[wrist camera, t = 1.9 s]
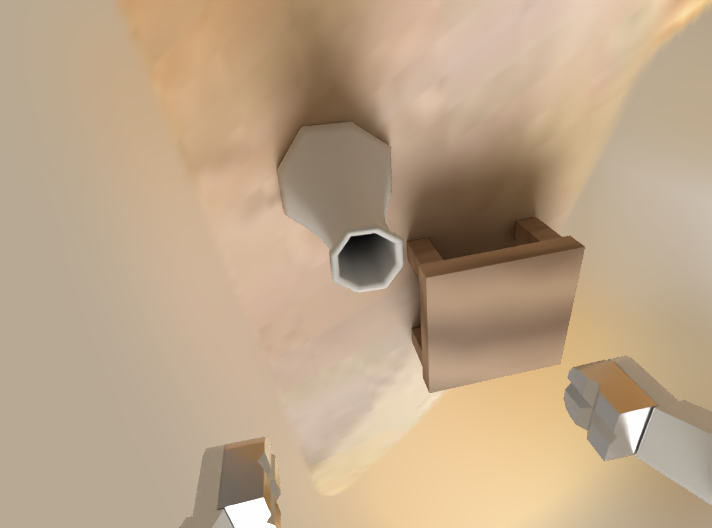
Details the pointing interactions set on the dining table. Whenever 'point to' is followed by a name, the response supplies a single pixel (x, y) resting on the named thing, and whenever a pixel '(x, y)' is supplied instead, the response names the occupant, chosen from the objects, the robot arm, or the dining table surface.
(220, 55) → the dining table surface
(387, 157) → the flask
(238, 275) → the dining table surface
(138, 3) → the dining table surface
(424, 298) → the walnut stand
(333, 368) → the dining table surface
